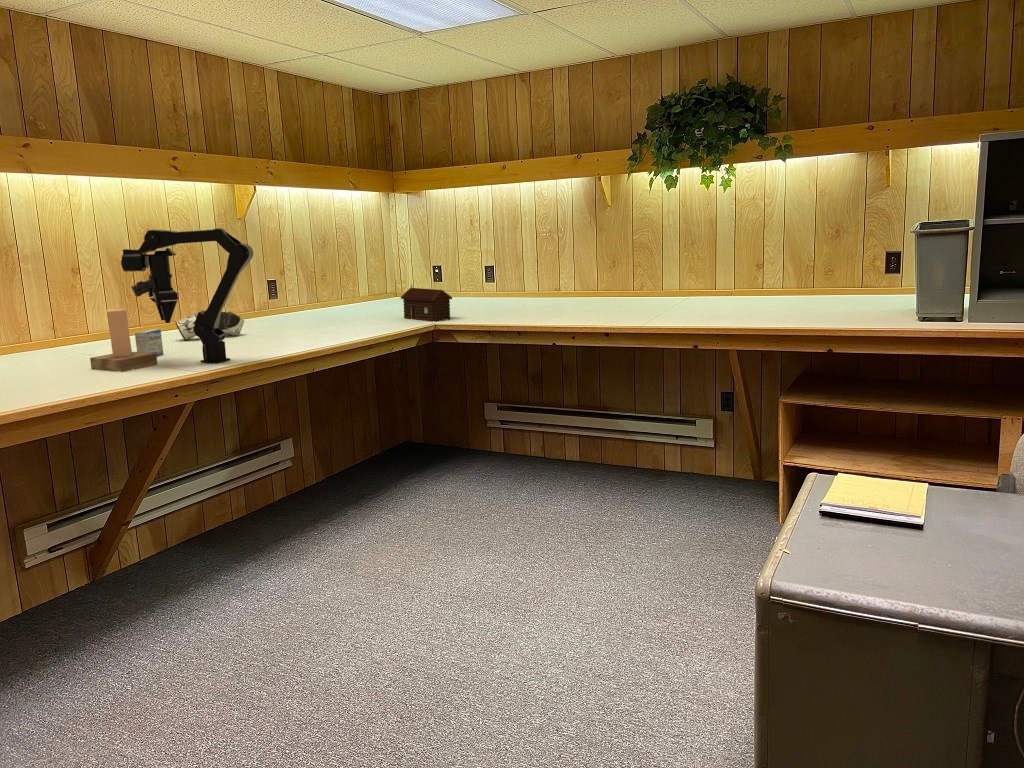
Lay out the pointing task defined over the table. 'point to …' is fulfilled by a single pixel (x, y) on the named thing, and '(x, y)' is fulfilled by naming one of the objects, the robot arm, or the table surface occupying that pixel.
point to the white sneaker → (227, 324)
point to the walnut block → (123, 362)
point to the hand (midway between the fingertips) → (165, 321)
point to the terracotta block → (119, 332)
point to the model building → (426, 304)
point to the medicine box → (149, 341)
